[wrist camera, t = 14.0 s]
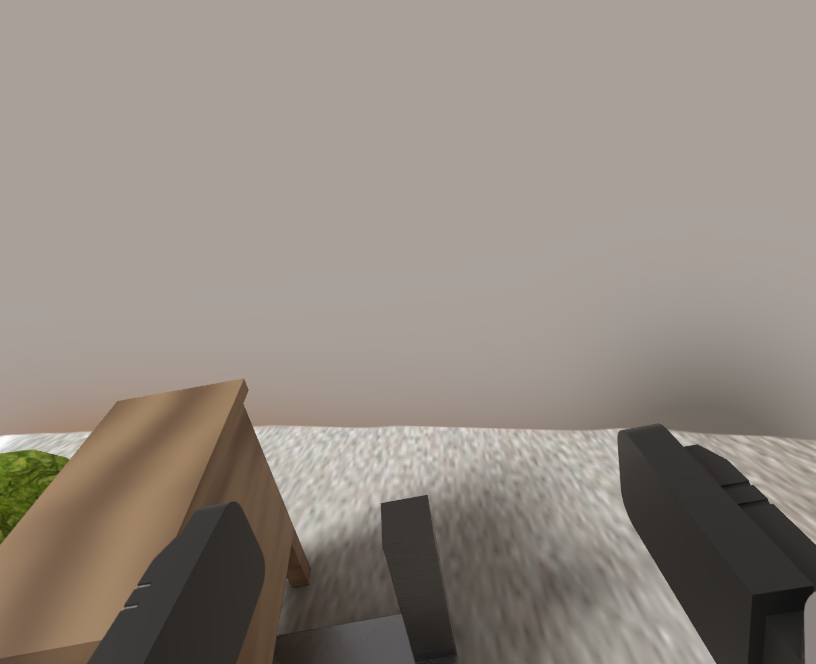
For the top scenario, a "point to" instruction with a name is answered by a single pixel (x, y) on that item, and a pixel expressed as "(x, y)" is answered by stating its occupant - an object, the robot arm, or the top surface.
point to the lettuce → (24, 483)
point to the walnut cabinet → (140, 523)
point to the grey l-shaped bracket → (417, 596)
